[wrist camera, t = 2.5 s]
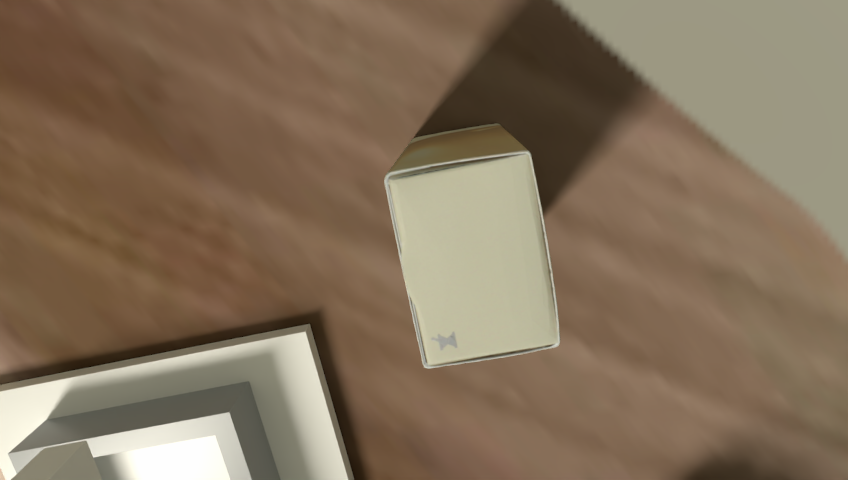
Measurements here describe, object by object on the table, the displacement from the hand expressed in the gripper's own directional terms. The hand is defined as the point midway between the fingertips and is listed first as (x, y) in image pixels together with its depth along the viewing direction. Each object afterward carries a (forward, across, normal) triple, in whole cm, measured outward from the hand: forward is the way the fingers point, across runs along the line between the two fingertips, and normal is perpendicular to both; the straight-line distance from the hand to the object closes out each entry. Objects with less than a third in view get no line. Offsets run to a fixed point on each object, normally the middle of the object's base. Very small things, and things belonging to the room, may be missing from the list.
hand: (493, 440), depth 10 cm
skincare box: (+21, 0, 0) cm, 21 cm away
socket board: (+21, +18, +12) cm, 30 cm away
